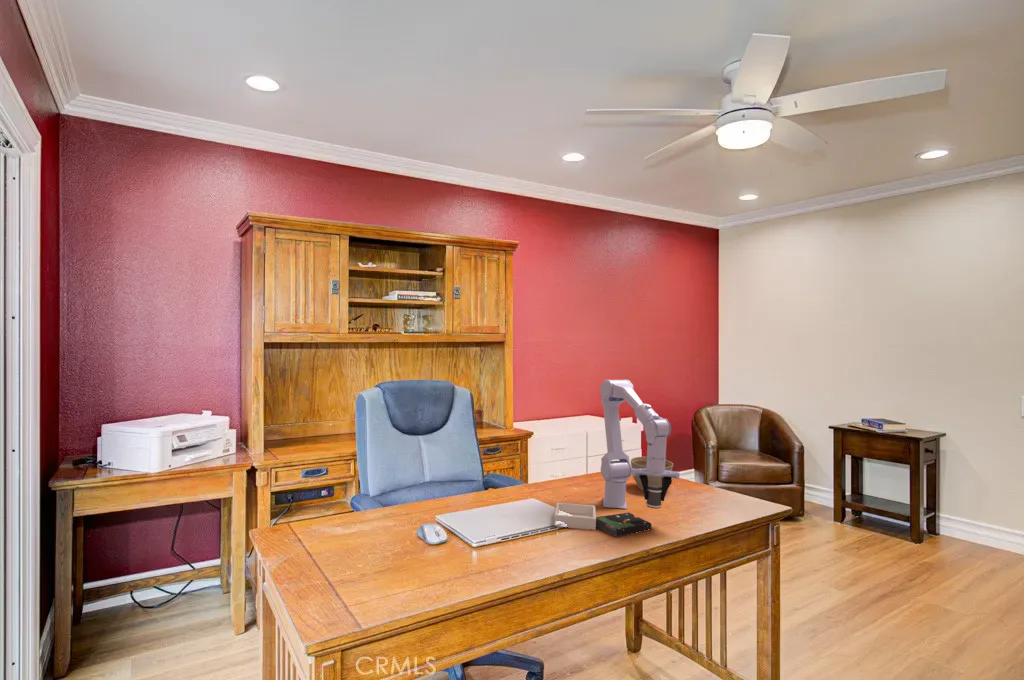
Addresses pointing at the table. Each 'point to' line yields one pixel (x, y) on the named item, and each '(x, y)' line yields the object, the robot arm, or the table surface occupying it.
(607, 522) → the disk drive
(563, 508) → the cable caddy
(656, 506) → the dark grey spool
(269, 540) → the table surface
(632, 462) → the planter bowl
